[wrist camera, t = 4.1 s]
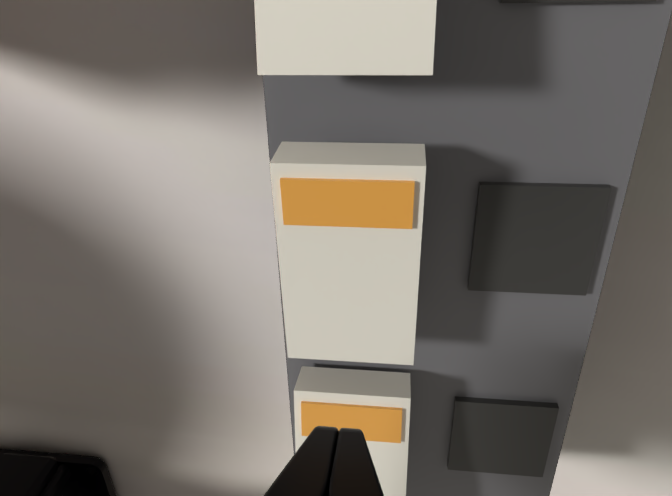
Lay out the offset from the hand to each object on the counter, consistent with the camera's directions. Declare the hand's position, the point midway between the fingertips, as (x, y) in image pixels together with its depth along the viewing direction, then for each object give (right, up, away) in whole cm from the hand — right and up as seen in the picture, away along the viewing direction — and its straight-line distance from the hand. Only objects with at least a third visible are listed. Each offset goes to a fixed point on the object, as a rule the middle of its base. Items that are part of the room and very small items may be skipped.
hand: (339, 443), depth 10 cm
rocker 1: (0, -2, +6) cm, 6 cm away
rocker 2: (0, +3, +3) cm, 4 cm away
